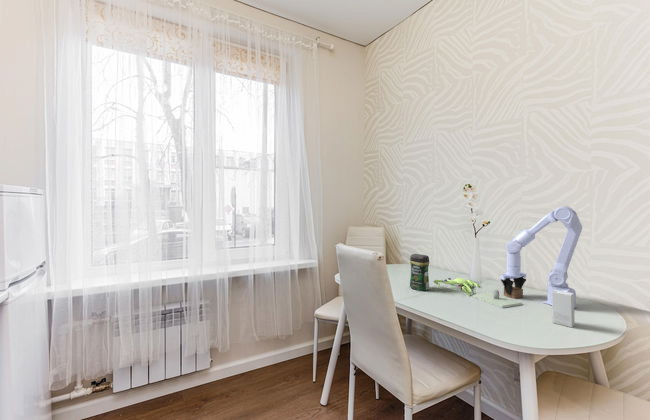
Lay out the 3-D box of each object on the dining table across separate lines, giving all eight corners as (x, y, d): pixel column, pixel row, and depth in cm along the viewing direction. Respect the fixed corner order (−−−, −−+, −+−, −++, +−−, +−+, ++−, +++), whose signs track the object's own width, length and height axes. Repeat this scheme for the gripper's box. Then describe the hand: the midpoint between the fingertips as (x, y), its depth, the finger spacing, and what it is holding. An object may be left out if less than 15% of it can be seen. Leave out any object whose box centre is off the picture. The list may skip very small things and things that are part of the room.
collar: (522, 297, 141) (522, 289, 141) (514, 298, 139) (514, 290, 139) (512, 294, 146) (512, 286, 146) (503, 295, 144) (503, 287, 144)
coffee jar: (407, 288, 158) (407, 254, 157) (415, 285, 163) (415, 252, 162) (423, 292, 150) (423, 256, 150) (431, 289, 155) (431, 254, 155)
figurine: (430, 291, 153) (430, 281, 153) (446, 280, 173) (446, 271, 173) (468, 298, 141) (468, 287, 141) (481, 286, 161) (481, 276, 161)
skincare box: (574, 324, 109) (575, 292, 109) (572, 328, 106) (572, 295, 106) (554, 319, 114) (554, 289, 114) (551, 322, 111) (551, 291, 111)
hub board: (522, 304, 131) (522, 293, 131) (501, 308, 127) (501, 296, 127) (491, 294, 146) (491, 284, 146) (472, 296, 142) (472, 286, 142)
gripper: (516, 262, 148) (516, 289, 149) (494, 264, 144) (494, 292, 144) (530, 265, 141) (530, 293, 142) (507, 267, 137) (507, 296, 137)
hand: (513, 293), depth 142 cm, fingers closed on collar, 6 cm apart
